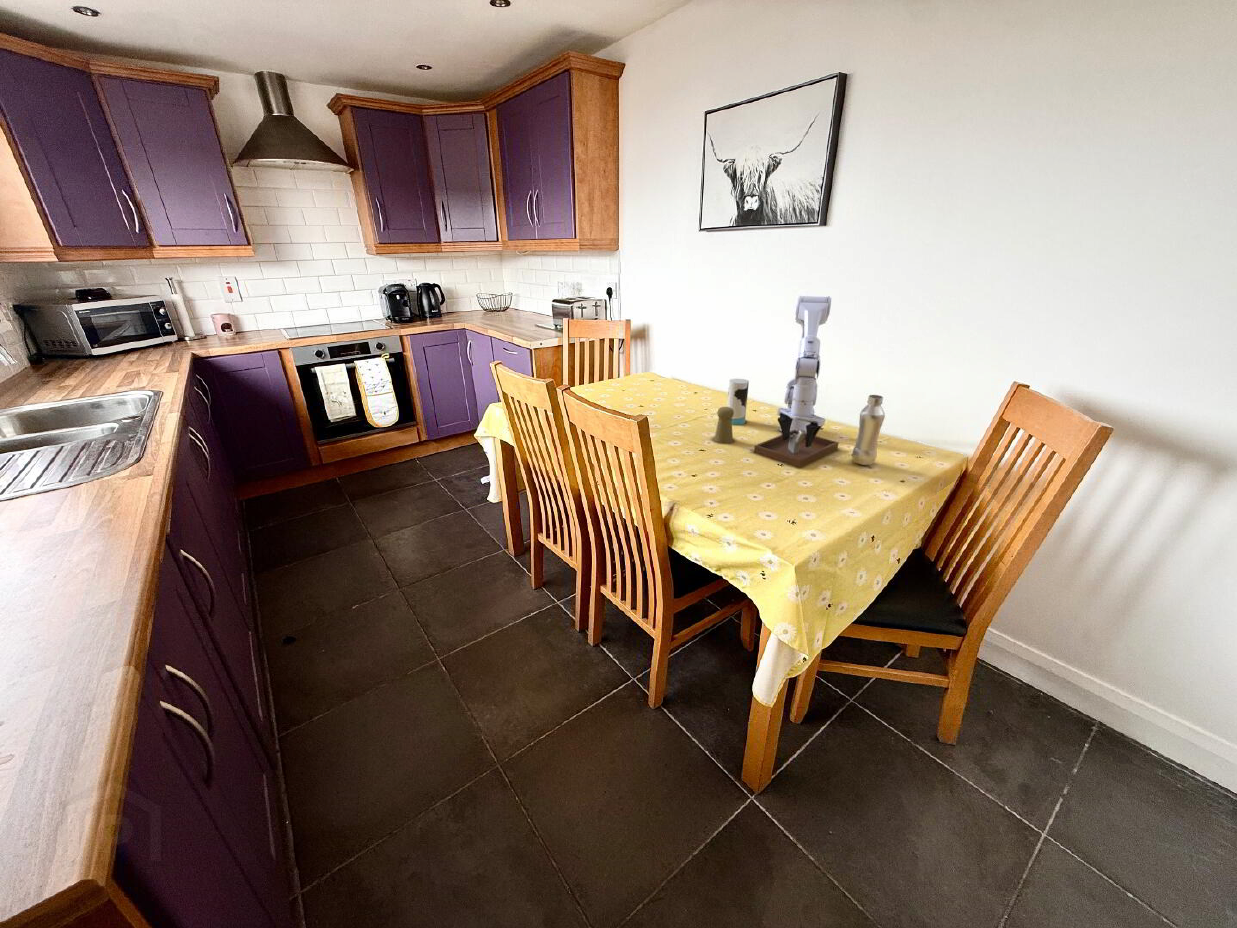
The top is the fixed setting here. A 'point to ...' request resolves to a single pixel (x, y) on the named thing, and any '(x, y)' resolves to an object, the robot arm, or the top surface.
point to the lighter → (796, 441)
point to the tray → (806, 455)
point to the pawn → (724, 425)
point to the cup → (738, 399)
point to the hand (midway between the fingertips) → (796, 442)
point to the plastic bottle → (869, 431)
